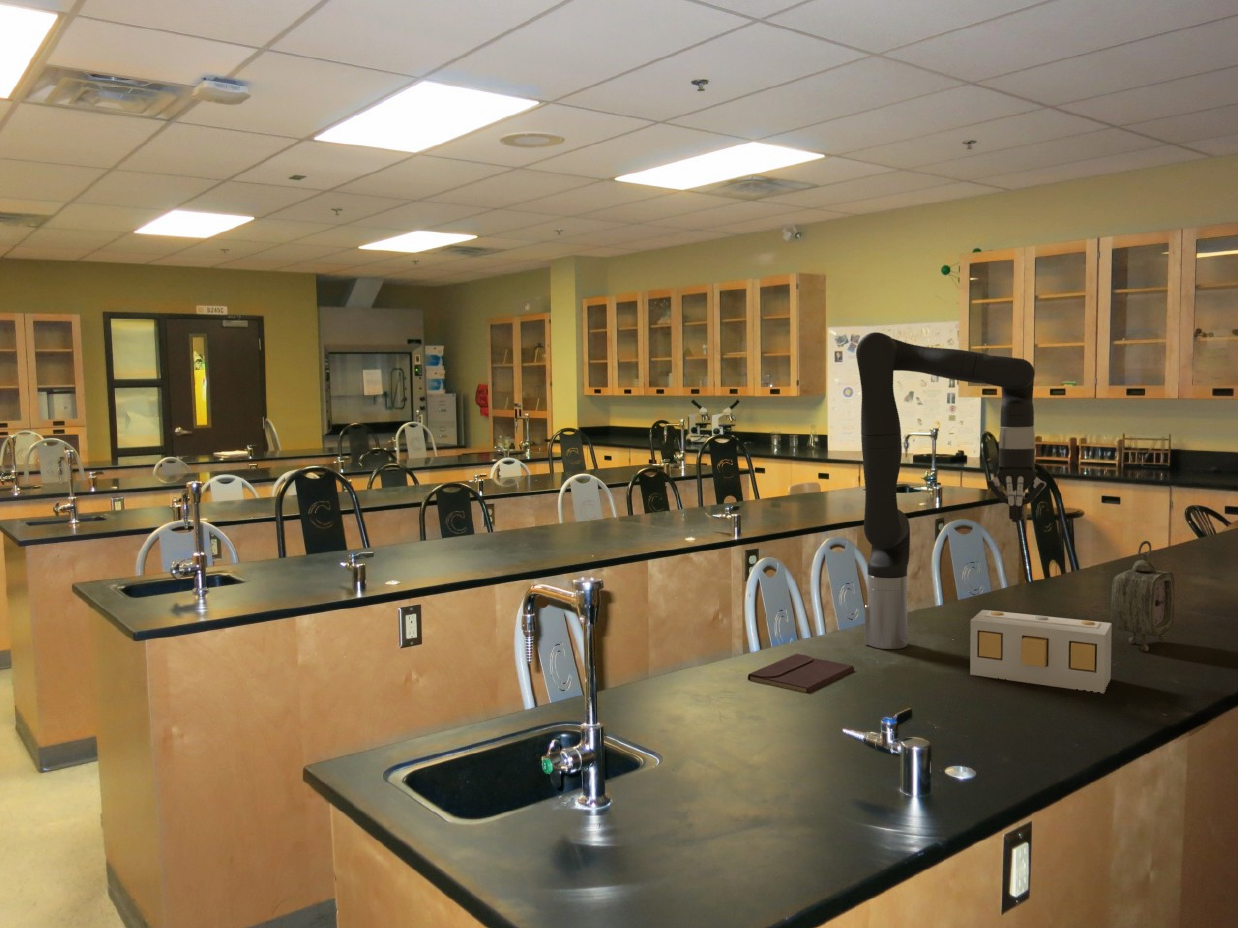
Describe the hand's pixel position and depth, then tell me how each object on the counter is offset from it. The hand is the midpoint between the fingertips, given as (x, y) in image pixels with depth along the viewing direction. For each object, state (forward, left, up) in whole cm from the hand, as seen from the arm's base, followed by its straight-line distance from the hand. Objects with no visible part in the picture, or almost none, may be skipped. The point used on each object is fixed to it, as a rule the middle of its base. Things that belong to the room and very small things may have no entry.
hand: (1016, 521), depth 219 cm
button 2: (+17, -19, -27) cm, 37 cm away
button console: (+8, -16, -31) cm, 36 cm away
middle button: (+8, -22, -27) cm, 35 cm away
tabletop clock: (+24, +22, -31) cm, 45 cm away
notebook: (-36, -39, -32) cm, 62 cm away
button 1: (-1, -19, -27) cm, 33 cm away
